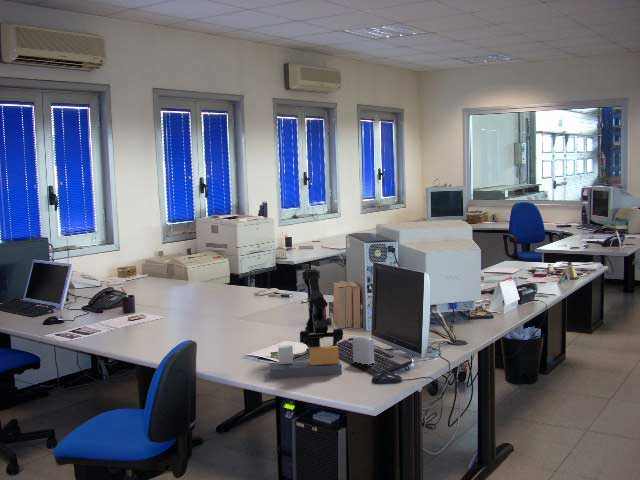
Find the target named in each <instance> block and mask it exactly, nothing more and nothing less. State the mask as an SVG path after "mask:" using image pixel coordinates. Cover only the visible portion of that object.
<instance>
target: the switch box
mask: <svg viewBox="0 0 640 480" xmlns="http://www.w3.org/2000/svg"><path fill="white" fill-rule="evenodd" d="M268 365H269V375H270V379H271V380H275V379H289V378H290V379H291V378H301V377H303V378H304V377H318V376H332V375H342V373H343V369H342V363H341V362H340V360H339V363H337V364H322V365H310V359H309V360H296V361H295V360H293V363H289V364H279V362H269V364H268Z"/></svg>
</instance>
